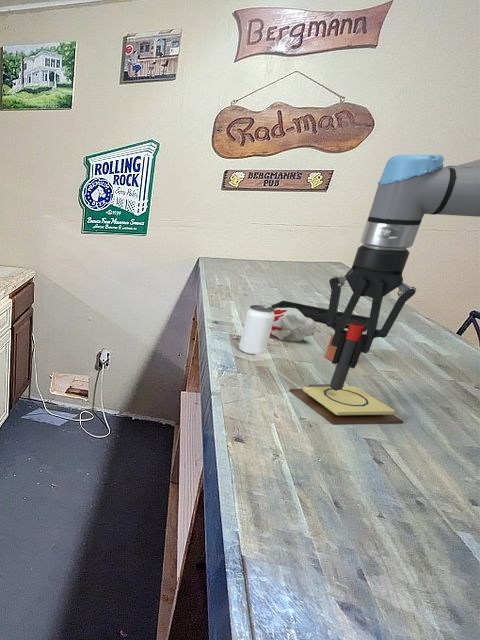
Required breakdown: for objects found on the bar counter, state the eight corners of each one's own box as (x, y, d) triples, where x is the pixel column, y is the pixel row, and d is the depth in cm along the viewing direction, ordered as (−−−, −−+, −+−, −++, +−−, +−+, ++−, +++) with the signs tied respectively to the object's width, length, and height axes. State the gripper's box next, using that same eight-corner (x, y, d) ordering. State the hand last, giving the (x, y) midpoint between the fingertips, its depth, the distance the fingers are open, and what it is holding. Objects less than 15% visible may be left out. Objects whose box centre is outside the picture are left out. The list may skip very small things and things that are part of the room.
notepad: (394, 414, 90) (395, 410, 90) (336, 415, 90) (338, 411, 89) (354, 389, 100) (355, 385, 99) (302, 390, 99) (303, 386, 99)
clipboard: (402, 423, 89) (405, 416, 89) (333, 424, 89) (335, 417, 88) (350, 390, 102) (352, 383, 102) (289, 391, 102) (291, 384, 101)
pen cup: (359, 365, 114) (367, 343, 112) (335, 365, 114) (342, 343, 112) (342, 355, 120) (349, 334, 118) (318, 356, 120) (325, 334, 117)
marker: (344, 391, 94) (367, 325, 88) (336, 393, 94) (359, 327, 88) (333, 386, 96) (355, 321, 90) (325, 388, 96) (346, 323, 90)
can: (233, 348, 124) (242, 306, 119) (248, 344, 127) (258, 303, 122) (254, 357, 119) (265, 313, 114) (270, 352, 122) (282, 309, 117)
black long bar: (379, 314, 146) (356, 332, 128) (376, 322, 148) (353, 342, 129) (289, 297, 164) (257, 311, 145) (287, 305, 165) (255, 319, 147)
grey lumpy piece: (314, 345, 125) (252, 345, 130) (303, 331, 135) (246, 331, 140) (318, 314, 122) (255, 314, 127) (307, 302, 131) (249, 303, 137)
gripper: (330, 244, 86) (296, 358, 95) (439, 255, 76) (389, 381, 86) (337, 239, 91) (305, 348, 100) (441, 249, 81) (394, 369, 91)
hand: (344, 363), depth 93 cm, fingers closed on marker, 2 cm apart
